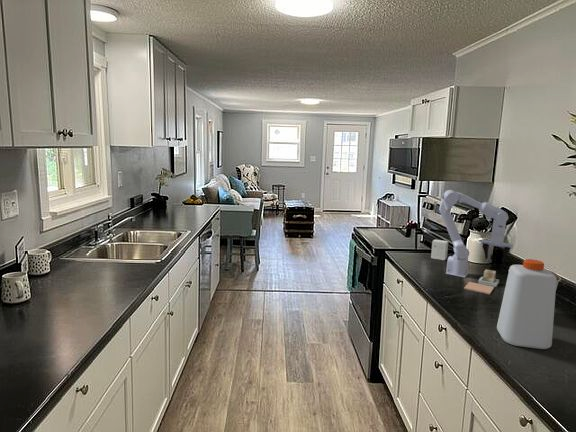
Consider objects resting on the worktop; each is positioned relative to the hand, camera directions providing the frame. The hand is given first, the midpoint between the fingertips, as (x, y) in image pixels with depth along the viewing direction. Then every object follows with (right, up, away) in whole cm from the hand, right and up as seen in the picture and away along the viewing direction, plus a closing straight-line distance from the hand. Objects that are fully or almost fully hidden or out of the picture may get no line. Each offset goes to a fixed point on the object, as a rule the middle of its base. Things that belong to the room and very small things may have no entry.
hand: (494, 260), depth 210 cm
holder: (-6, -11, -6) cm, 14 cm away
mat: (-15, -12, -15) cm, 24 cm away
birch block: (-6, -11, -6) cm, 14 cm away
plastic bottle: (-23, -21, -65) cm, 72 cm away
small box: (-15, -3, +35) cm, 38 cm away
